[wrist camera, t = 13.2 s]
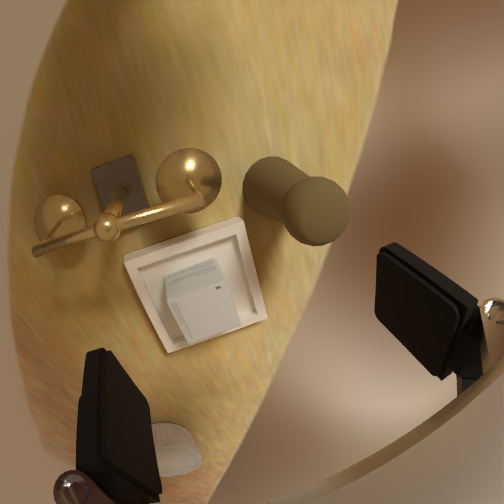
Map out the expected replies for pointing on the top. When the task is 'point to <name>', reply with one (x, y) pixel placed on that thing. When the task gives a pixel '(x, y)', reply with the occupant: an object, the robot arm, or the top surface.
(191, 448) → the ramekin
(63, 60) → the top surface
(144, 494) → the robot arm
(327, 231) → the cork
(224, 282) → the small box
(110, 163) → the balance
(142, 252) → the dish
